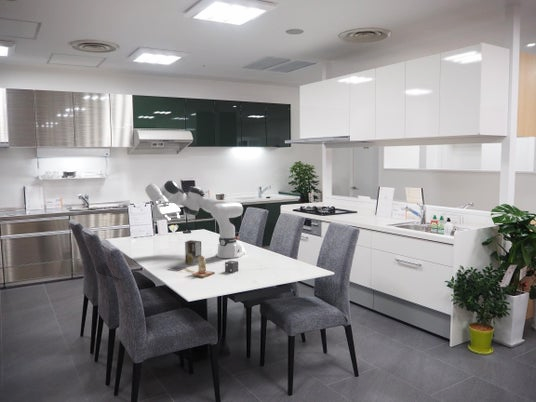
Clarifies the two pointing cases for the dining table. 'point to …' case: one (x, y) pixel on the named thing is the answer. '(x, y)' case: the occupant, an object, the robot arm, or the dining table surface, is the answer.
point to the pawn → (202, 265)
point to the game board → (191, 272)
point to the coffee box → (192, 252)
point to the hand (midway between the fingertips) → (174, 219)
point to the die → (231, 266)
